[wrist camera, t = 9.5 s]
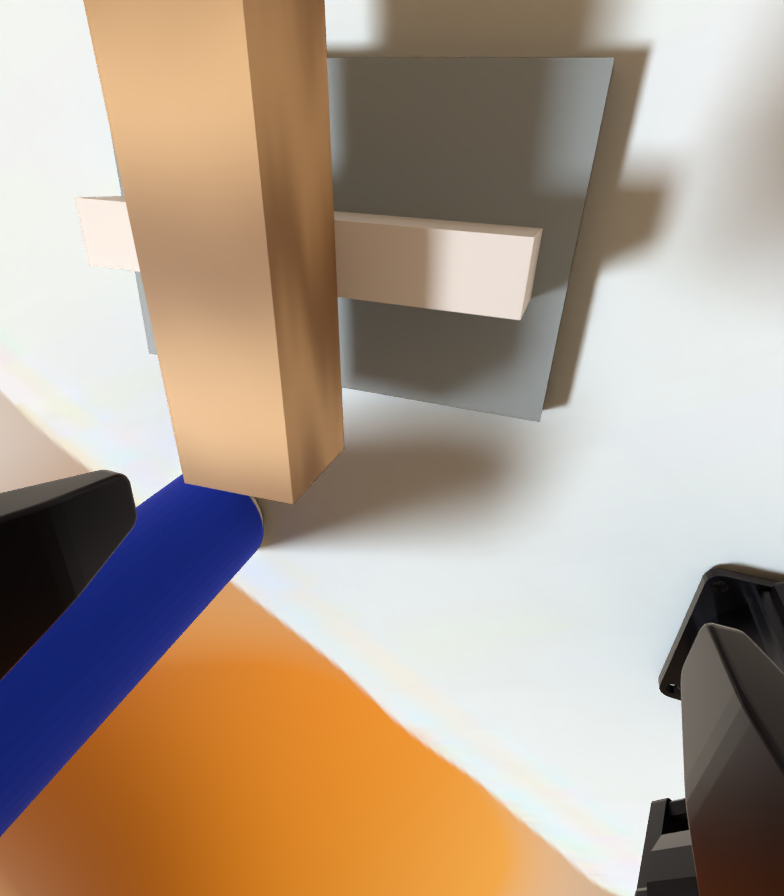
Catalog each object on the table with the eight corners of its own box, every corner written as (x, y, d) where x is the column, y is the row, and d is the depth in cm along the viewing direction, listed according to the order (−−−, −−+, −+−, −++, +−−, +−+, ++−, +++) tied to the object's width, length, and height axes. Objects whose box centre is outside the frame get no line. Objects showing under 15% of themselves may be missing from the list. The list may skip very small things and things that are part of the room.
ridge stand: (542, 410, 18) (532, 462, 15) (165, 347, 22) (91, 375, 19) (612, 65, 14) (621, 26, 10) (121, 63, 18) (11, 35, 14)
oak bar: (344, 448, 17) (293, 504, 14) (250, 433, 18) (184, 483, 15) (322, -35, 11) (230, -111, 8) (189, -18, 12) (66, -81, 9)
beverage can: (217, 444, 24) (-194, 736, 11) (289, 527, 25) (-18, 885, 12) (162, 492, 27) (-221, 772, 14) (229, 565, 27) (-75, 892, 15)
